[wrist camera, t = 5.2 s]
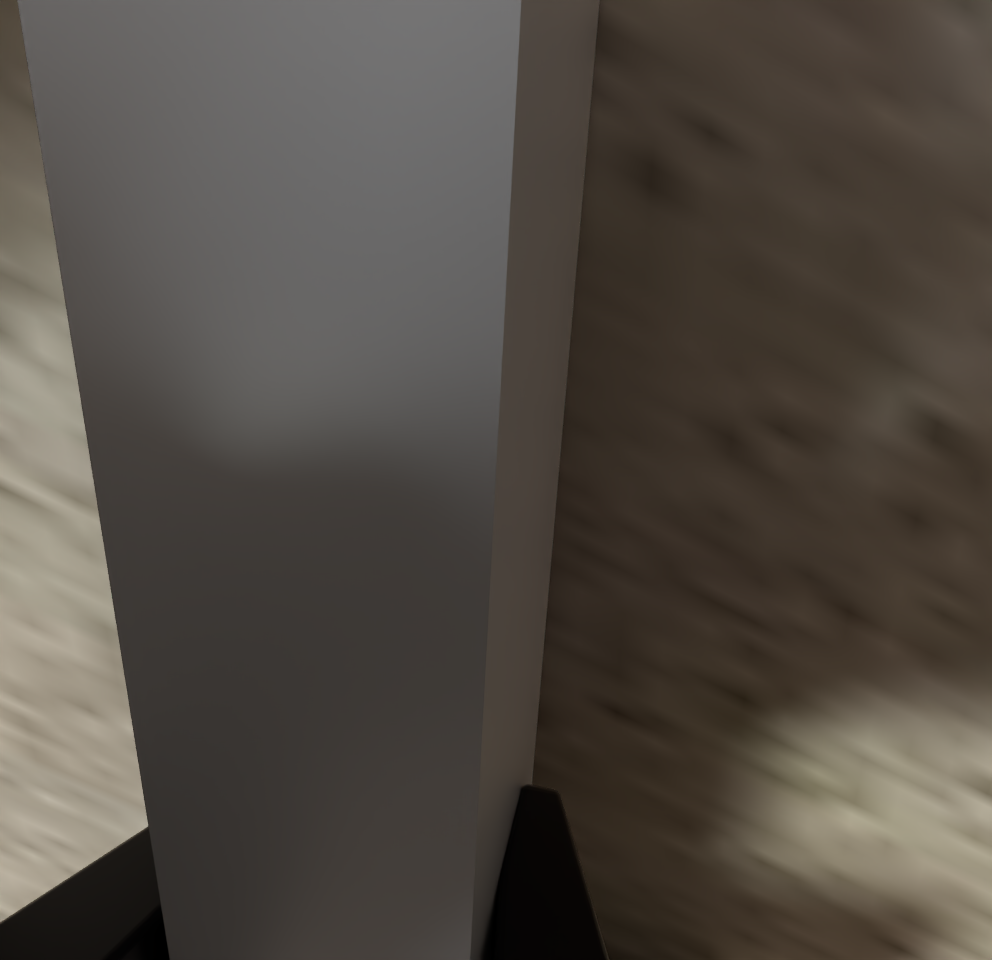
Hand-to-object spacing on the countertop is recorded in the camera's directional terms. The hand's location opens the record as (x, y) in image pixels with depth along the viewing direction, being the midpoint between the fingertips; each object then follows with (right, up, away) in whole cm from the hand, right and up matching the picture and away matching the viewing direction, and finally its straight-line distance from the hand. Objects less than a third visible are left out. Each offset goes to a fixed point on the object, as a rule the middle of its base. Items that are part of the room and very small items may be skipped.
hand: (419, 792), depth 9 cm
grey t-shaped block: (0, +2, 0) cm, 3 cm away
